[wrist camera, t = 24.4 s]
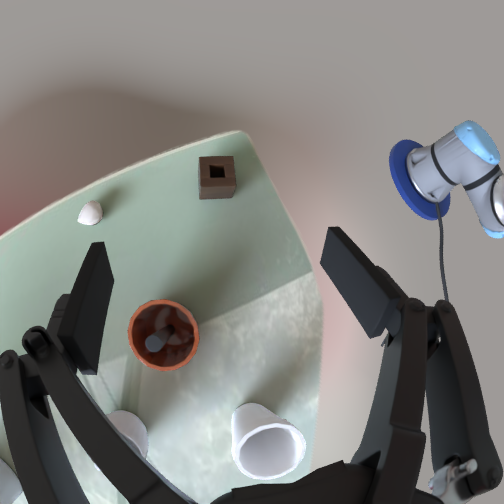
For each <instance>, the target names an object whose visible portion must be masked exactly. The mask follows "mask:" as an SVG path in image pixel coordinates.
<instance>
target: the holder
mask: <svg viewBox="0 0 504 504" xmlns="http://www.w3.org/2000/svg"><path fill="white" fill-rule="evenodd" d="M198 178H199V199H223V198H232V196H233V193H234V191H235V188H236V178H235V168H234V158H233V156H211V157H199V167H198Z"/></svg>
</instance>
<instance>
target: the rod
mask: <svg viewBox="0 0 504 504" xmlns="http://www.w3.org/2000/svg"><path fill="white" fill-rule="evenodd" d="M174 332H175V328H174V326H173V325H170V324H169V325H167V326H165V327H163V328H162V329H160V330H158V331H157V332H155V333H153V334H152V335H150V336H149V337H148V338H147V339H146V347H147V348H148V350H150V351H152V352H157V351H159V350H160V349H161V348H162V347H163V346H164V344H165V343H166V342H167V341H168V340H169V338H170V337H171V336H172V335H173V333H174Z"/></svg>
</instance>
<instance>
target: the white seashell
mask: <svg viewBox="0 0 504 504" xmlns="http://www.w3.org/2000/svg"><path fill="white" fill-rule="evenodd" d="M102 217H103V209H102V207H101V205H100V204H99V203H98V202H96V201H90V202H88V203H87V204H86V205H85V206H84V207H83V209H82V210H81V212H80V215H79V217H78V220H77V221H78V222H80V223H82V224H86V225H95V224H98V223H99V222H100V221H101V220H102Z"/></svg>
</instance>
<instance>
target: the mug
mask: <svg viewBox="0 0 504 504" xmlns="http://www.w3.org/2000/svg"><path fill="white" fill-rule="evenodd" d="M106 416H107V417H108V419H109V420H110V421H111V422H112V423H113V425H114V426H115V427H116V428H117V429H118V430H119V432H120V433H121V434H122V435H123V436H124V437H125V438H126V439H127V441H128V442H129V443H130V444H131V445H132V446H133V447H134V448H135V449H136V450H137V451H138V452H139V453H140V454H141V455H142V456H143V457H144V458H145V459H146V456H147V453H148V444H149V441H148V433H147V430H146V427H145V425H144V424H143V422H142V421H141V420H140V419H139V418H138V417H137V416H136V415H134V414H132V413H130V412H127V411H124V410H119V411H114V412H111V413H109V414H106ZM88 456H89V455H88ZM89 457H90V456H89ZM90 459H91V458H90ZM91 460H92V459H91ZM92 461H93V460H92ZM95 467H96V468H97V469H98V470H99V471H101V470H100V469H99V468H98V467H97V465H96V464H95Z"/></svg>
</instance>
